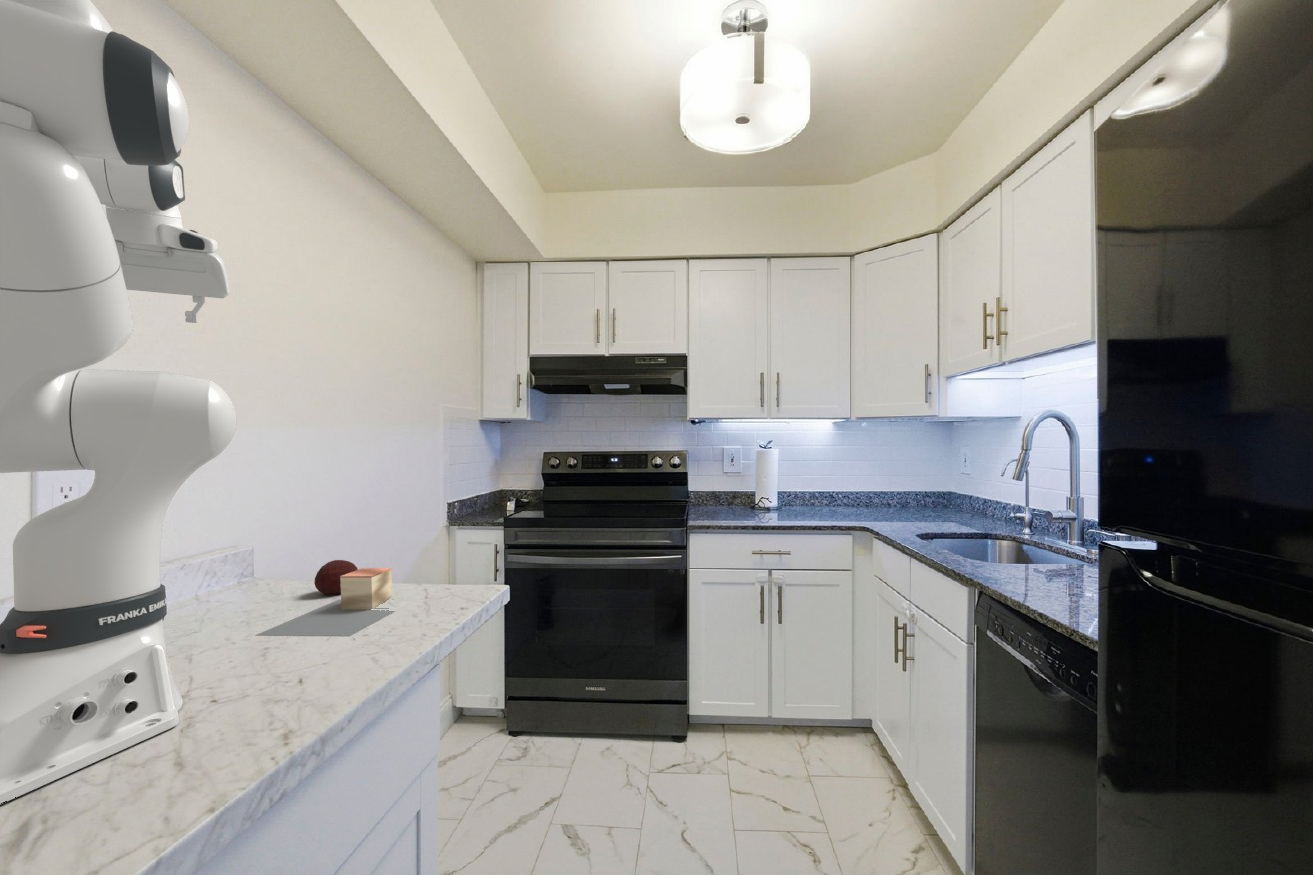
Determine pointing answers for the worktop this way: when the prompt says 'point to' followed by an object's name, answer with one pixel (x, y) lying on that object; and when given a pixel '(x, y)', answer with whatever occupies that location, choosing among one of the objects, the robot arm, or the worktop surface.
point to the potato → (332, 576)
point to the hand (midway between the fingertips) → (155, 319)
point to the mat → (329, 622)
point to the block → (366, 588)
